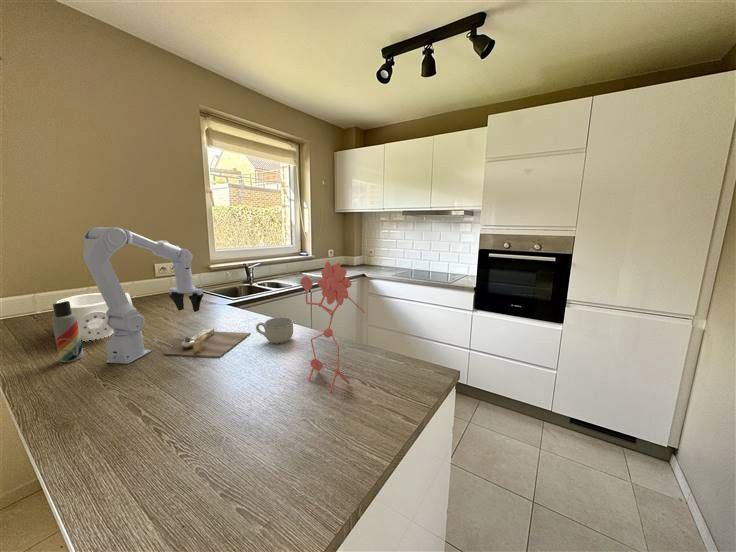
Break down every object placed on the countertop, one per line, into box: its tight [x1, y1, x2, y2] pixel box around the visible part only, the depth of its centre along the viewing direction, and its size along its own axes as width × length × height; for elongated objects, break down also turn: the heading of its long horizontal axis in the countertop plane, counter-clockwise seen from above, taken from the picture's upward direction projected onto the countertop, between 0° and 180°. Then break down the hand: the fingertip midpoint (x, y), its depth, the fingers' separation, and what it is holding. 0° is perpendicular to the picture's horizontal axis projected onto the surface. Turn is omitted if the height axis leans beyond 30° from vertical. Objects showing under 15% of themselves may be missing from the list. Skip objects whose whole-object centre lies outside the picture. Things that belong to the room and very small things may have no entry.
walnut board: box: [162, 331, 251, 358], centre depth 111 cm, size 21×21×1 cm
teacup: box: [255, 316, 294, 345], centre depth 113 cm, size 14×11×8 cm
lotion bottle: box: [51, 301, 84, 364], centre depth 97 cm, size 6×6×20 cm
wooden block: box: [181, 327, 215, 349], centre depth 111 cm, size 15×4×3 cm, turn 175°
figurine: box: [300, 261, 366, 401], centre depth 85 cm, size 15×26×35 cm, turn 51°
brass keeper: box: [193, 335, 208, 353], centre depth 105 cm, size 2×8×4 cm, turn 7°
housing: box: [55, 292, 134, 342], centre depth 124 cm, size 35×22×14 cm, turn 48°
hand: (188, 310), depth 120 cm, fingers open, 7 cm apart
